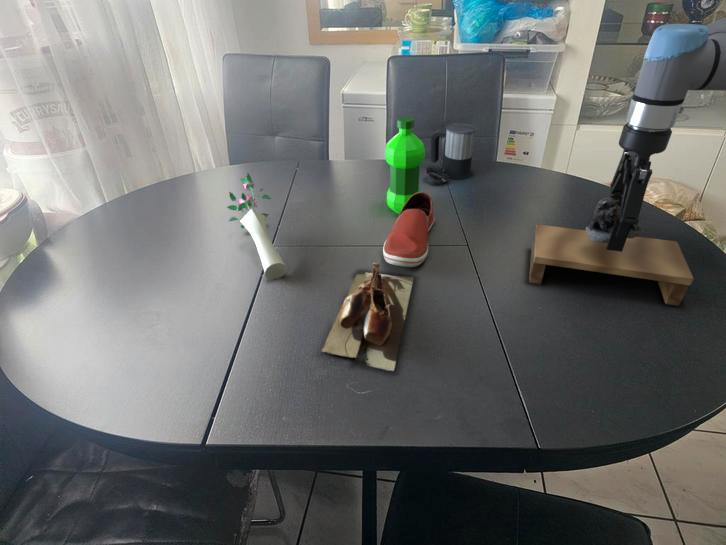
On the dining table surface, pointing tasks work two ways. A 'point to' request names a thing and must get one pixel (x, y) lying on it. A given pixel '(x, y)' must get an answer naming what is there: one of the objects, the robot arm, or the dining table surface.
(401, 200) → the plastic bottle
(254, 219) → the flower vase
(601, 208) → the bison figurine
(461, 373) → the dining table surface
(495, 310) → the dining table surface
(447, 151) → the milk frother
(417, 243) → the slip on shoe
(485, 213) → the dining table surface
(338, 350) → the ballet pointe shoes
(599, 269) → the oak shelf
